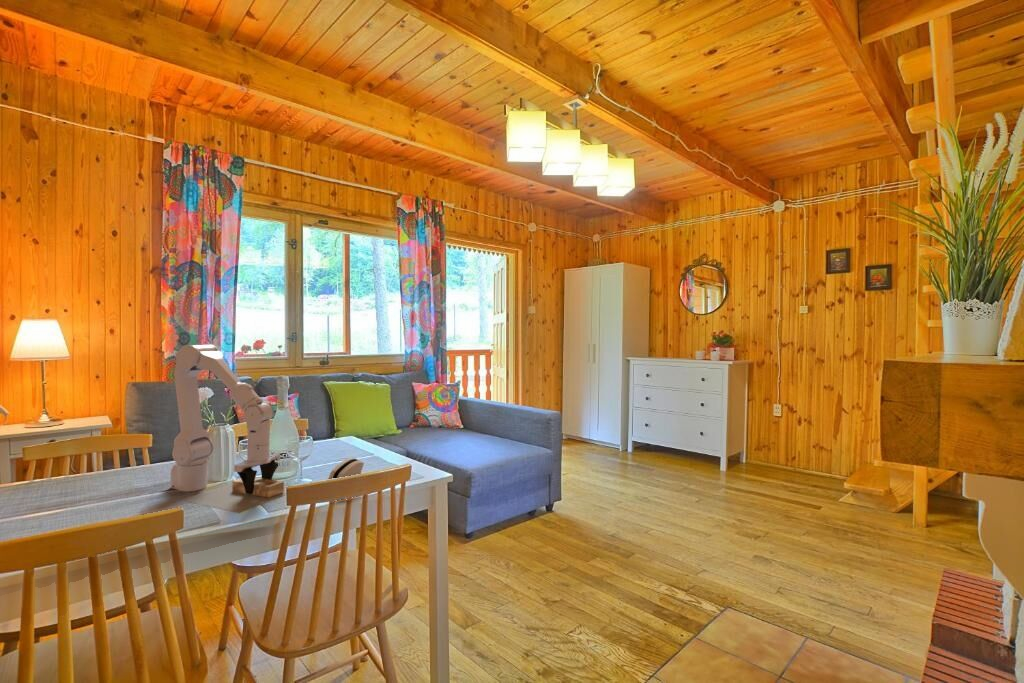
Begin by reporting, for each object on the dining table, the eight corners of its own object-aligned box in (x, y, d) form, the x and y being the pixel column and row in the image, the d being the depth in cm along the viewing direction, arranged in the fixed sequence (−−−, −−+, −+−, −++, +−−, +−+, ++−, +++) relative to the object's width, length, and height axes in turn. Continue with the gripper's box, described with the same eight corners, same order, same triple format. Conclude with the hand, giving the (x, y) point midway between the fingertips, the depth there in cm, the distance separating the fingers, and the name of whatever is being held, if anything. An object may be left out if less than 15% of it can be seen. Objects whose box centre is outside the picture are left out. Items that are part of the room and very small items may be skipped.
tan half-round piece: (344, 478, 165) (354, 451, 164) (357, 484, 164) (367, 457, 164) (317, 495, 148) (328, 464, 148) (331, 501, 148) (342, 471, 147)
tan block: (232, 491, 145) (232, 481, 145) (248, 485, 150) (248, 476, 150) (268, 497, 140) (268, 487, 140) (283, 491, 145) (283, 481, 145)
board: (179, 505, 137) (180, 491, 137) (247, 483, 157) (247, 470, 157) (239, 518, 129) (239, 503, 129) (302, 493, 150) (302, 480, 150)
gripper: (247, 451, 137) (246, 499, 137) (288, 440, 150) (287, 485, 151) (228, 448, 139) (228, 496, 140) (270, 438, 153) (269, 481, 153)
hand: (257, 490), depth 145 cm, fingers closed on tan block, 5 cm apart
